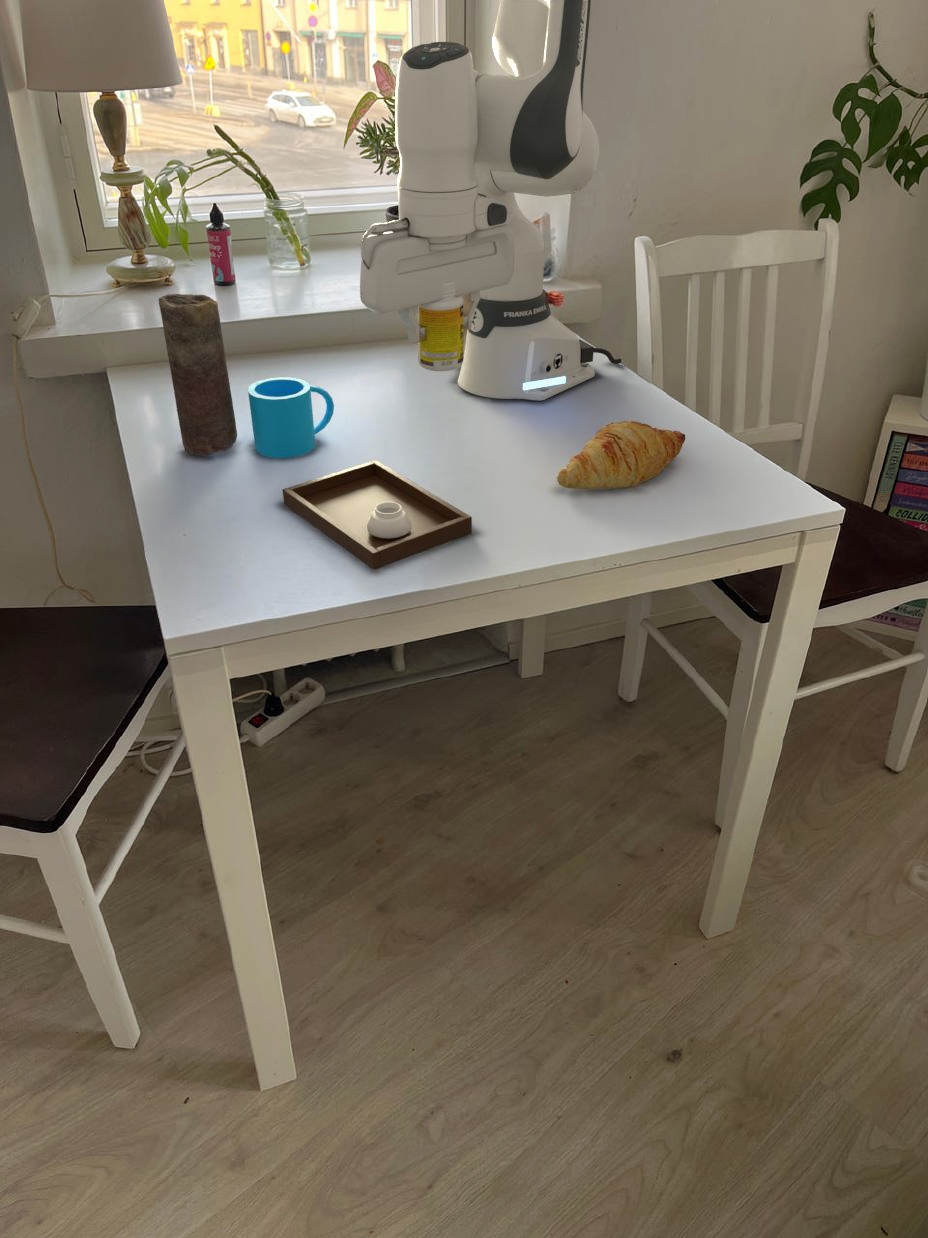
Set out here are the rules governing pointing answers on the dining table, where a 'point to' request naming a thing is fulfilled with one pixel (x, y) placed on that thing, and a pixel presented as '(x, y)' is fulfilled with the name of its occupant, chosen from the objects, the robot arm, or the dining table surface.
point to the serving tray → (352, 499)
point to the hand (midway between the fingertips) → (440, 335)
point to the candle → (199, 372)
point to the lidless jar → (388, 521)
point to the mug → (285, 416)
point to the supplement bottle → (442, 332)
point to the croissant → (621, 456)
